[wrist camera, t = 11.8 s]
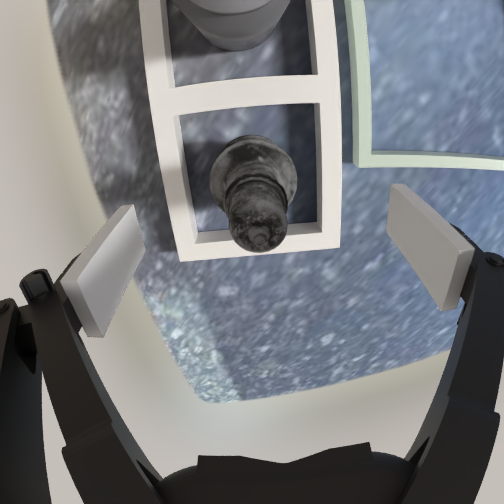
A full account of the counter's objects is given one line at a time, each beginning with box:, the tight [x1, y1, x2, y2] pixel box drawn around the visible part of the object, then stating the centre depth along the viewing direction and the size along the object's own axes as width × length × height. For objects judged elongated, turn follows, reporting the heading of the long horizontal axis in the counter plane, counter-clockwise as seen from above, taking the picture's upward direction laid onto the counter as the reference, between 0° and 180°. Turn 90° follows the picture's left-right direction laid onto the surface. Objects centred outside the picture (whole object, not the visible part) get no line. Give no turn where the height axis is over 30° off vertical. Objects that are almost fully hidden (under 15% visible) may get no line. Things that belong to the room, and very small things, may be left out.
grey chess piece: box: [210, 135, 298, 253], centre depth 19 cm, size 6×6×12 cm
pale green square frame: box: [344, 0, 504, 170], centre depth 18 cm, size 20×20×2 cm
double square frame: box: [139, 0, 342, 262], centre depth 16 cm, size 25×13×11 cm, turn 5°
